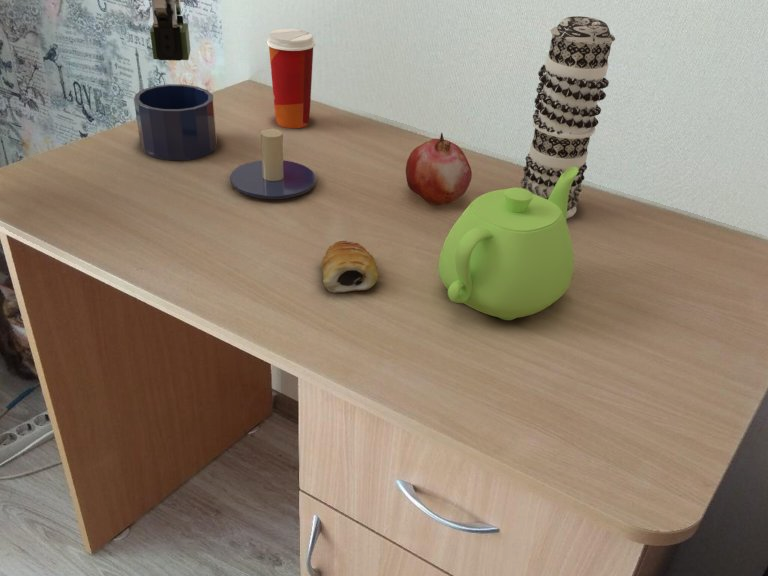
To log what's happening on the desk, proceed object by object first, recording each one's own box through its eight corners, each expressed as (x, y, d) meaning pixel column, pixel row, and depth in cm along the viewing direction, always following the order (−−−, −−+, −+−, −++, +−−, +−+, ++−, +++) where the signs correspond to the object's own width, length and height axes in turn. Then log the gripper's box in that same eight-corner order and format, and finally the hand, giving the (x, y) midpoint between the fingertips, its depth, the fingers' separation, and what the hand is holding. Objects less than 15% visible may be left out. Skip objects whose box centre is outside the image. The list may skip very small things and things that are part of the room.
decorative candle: (510, 213, 110) (543, 25, 94) (521, 187, 117) (553, 8, 101) (574, 226, 108) (619, 36, 92) (581, 199, 115) (624, 18, 99)
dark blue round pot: (138, 160, 116) (130, 110, 111) (145, 131, 125) (138, 83, 120) (216, 160, 118) (211, 111, 113) (217, 131, 126) (213, 84, 121)
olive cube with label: (153, 59, 100) (149, 30, 98) (156, 49, 103) (153, 21, 101) (188, 60, 101) (185, 31, 98) (190, 50, 104) (187, 22, 102)
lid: (230, 203, 107) (226, 150, 102) (230, 166, 116) (227, 116, 111) (318, 202, 109) (318, 150, 104) (312, 166, 118) (312, 116, 113)
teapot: (510, 238, 104) (527, 143, 96) (607, 283, 97) (635, 184, 88) (399, 297, 91) (408, 193, 83) (501, 354, 84) (522, 246, 75)
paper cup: (296, 110, 136) (295, 25, 127) (324, 124, 131) (325, 37, 123) (259, 119, 131) (255, 31, 122) (287, 134, 127) (285, 44, 118)
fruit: (417, 179, 117) (423, 112, 111) (476, 194, 114) (485, 127, 108) (391, 202, 110) (396, 133, 104) (453, 218, 108) (462, 149, 101)
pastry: (318, 254, 98) (319, 227, 95) (371, 254, 99) (373, 227, 96) (323, 295, 91) (323, 266, 88) (380, 294, 92) (382, 266, 89)
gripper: (181, -98, 84) (197, 75, 96) (191, -119, 97) (204, 36, 109) (109, -102, 83) (134, 74, 95) (129, -123, 96) (149, 34, 108)
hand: (171, 52), depth 102 cm, fingers closed on olive cube with label, 4 cm apart
